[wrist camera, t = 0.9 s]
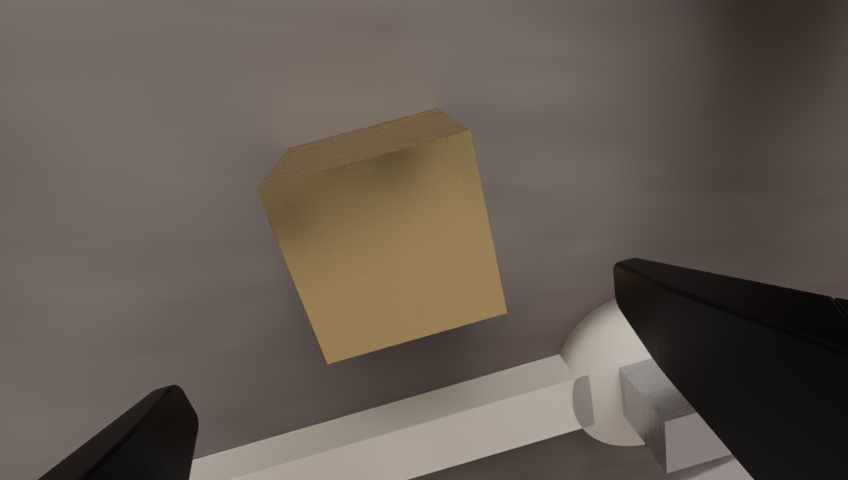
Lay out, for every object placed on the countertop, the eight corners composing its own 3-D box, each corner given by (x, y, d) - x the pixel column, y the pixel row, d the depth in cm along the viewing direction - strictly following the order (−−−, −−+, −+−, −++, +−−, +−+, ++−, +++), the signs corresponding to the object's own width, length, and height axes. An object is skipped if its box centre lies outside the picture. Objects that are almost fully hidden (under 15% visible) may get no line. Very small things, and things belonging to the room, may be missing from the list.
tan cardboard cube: (436, 108, 18) (470, 130, 12) (467, 243, 20) (507, 313, 15) (288, 148, 18) (256, 189, 12) (336, 280, 20) (327, 364, 14)
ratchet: (699, 272, 23) (797, 334, 17) (699, 394, 26) (783, 477, 21) (147, 430, 22) (83, 543, 17) (217, 536, 25) (180, 659, 20)
